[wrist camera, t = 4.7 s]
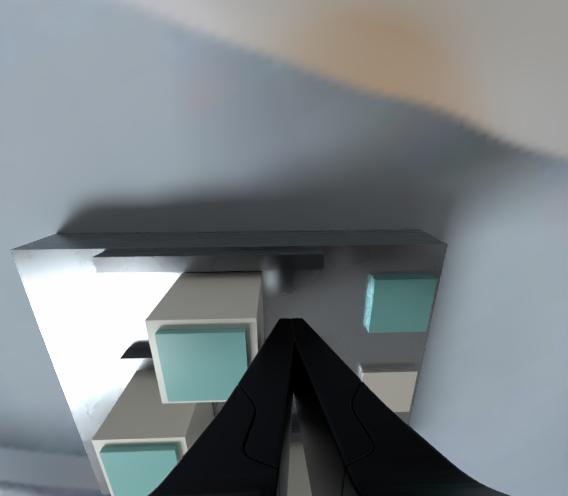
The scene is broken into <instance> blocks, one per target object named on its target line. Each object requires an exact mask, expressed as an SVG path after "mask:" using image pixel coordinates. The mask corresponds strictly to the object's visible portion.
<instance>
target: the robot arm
mask: <svg viewBox="0 0 568 496" xmlns="http://www.w3.org/2000/svg"><path fill="white" fill-rule="evenodd" d="M293 394H294V398H295V404H296V409H297V415H298V420H299V426H300V432H301V437H302V443H303V448H304V454H305V460H306V465H307V471H308V476H309V482H310V488H311V493H312V496H510V495H507V494H504V493H502V492H499V491H496V490H494V489H491V488H489V487H487V486H485V485H483V484H481V483H479V482H478V481H476V480H474V479H473V478H471V477H470V476H468V475H467V474H465V473H464V472H463V471H461V470H460V469H459V468H457V467H456V466H455V465H454V464H453V463H451V462H450V461H449V460H448V459H447V458H446V457H444V456H443V455H442V454H441V453H440V452H439V451H437V450H436V449H435V448H434V447H433V446H432V445H431V444H429V443H428V442H427V441H426V440H425V439H424V438H423V437H421V436H420V435H419V434H418V433H417V432H416V431H414V430H413V429H412V428H411V427H410V426H409V425H408V424H406V423H405V422H404V421H403V420H402V419H401V418H400V417H399V416H397V415H396V414H395V413H394V412H393V411H392V410H391V409H390V408H389V407H388V406H386V405H385V404H384V403H383V402H382V401H381V400H380V399H379V398H378V397H377V396H376V395H375V394H374V393H373V392H372V391H371V390H370V388H369V387H368V386H367V385H366V384H365V383H364V382H361V379H360V378H359V377H358V376H357V375H356V374H355V373H354V372H353V371H352V370H351V369H350V368H349V366H348V365H347V364H346V363H345V362H344V361H343V360H342V359H341V358H340V357H339V356H338V355H337V354H336V353H335V352H334V351H333V350H332V349H331V347H330V346H329V345H328V344H327V343H326V342H325V341H324V340H323V339H322V338H321V337H320V336H319V335H318V334H317V333H316V332H315V331H314V330H313V328H312V327H311V326H310V325H309V324H308V323H307V322H306V321H305V320H304V319H303V318H292V319H290V318H280V319H279V320H278V321H277V323H276V325H275V326H274V328H273V329H272V331H271V332H270V334H269V336H268V337H267V339H266V340H265V342H264V343H263V345H262V347H261V348H260V350H259V351H258V353H257V354H256V356H255V358H254V359H253V361H252V362H251V364H250V365H249V367H248V368H247V370H246V372H245V373H244V375H243V376H242V378H241V379H240V381H239V383H238V385H237V386H236V387H235V389H234V390H233V392H232V393H231V395H230V396H229V398H228V399H227V401H226V402H225V404H224V405H223V407H222V408H221V410H220V411H219V412H218V414H217V415H216V416H215V417H214V419H213V420H212V421H211V422H210V424H209V425H208V426H207V428H206V429H205V430H204V431H203V432H202V434H201V435H200V436H199V437H198V439H197V440H196V441H195V442H194V443H193V445H192V446H191V447H190V448H189V450H188V451H187V452H186V453H185V454H184V456H183V457H182V458H181V459H180V460H179V462H178V463H177V464H176V465H175V467H174V468H173V469H172V470H171V471H170V473H169V474H168V475H167V476H166V477H165V479H164V480H163V481H162V482H161V483H160V484H159V485H158V486H157V487H156V488H155V489H154V490H153V491H152V492H151V493H150V494H149V495H147V496H287V490H288V474H289V458H290V443H291V427H292V411H293Z"/></svg>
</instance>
